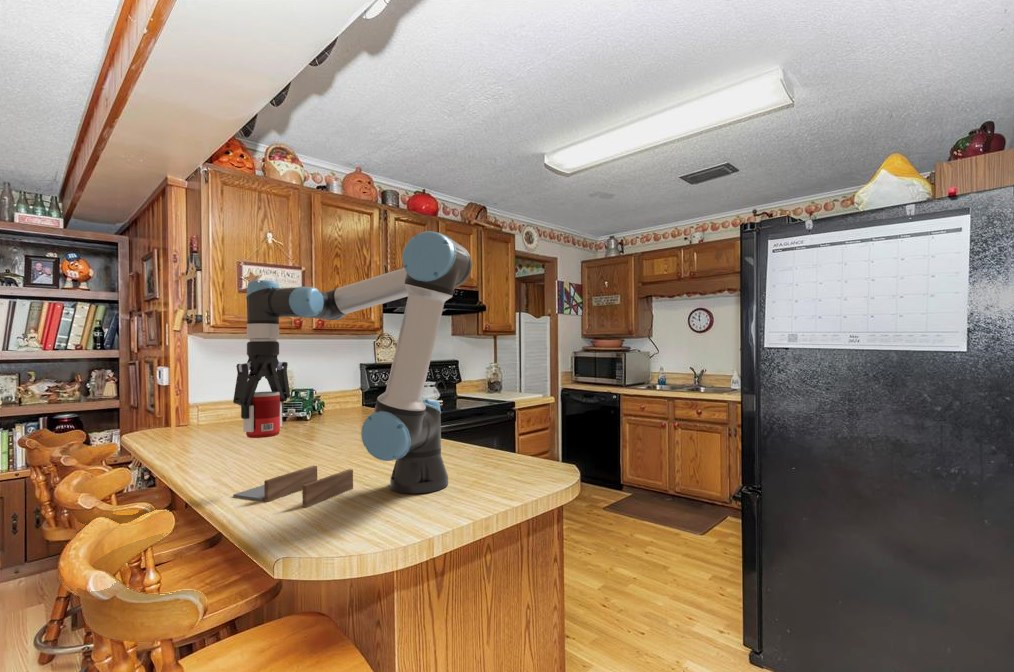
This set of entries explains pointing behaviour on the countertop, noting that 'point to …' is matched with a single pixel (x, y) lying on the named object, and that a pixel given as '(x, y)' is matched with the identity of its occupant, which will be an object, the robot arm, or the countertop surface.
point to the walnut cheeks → (308, 485)
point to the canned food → (265, 415)
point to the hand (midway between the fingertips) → (263, 428)
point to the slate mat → (252, 494)
